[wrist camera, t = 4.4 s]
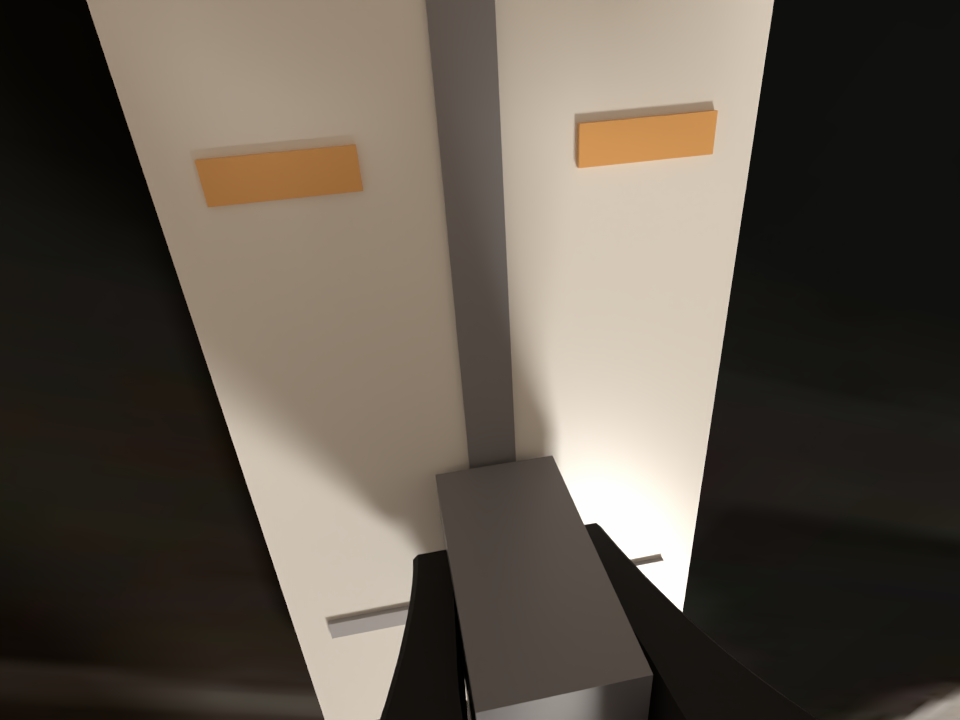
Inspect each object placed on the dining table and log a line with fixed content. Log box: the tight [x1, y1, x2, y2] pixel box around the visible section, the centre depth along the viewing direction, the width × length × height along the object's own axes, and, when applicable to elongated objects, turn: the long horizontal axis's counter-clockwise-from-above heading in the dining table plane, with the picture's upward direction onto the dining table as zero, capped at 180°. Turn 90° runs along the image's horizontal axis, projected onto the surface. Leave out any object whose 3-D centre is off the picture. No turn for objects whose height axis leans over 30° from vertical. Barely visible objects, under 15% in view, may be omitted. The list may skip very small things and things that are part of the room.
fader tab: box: [435, 456, 653, 720], centre depth 11 cm, size 3×4×5 cm, turn 3°
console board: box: [86, 0, 774, 720], centre depth 12 cm, size 10×22×2 cm, turn 3°
